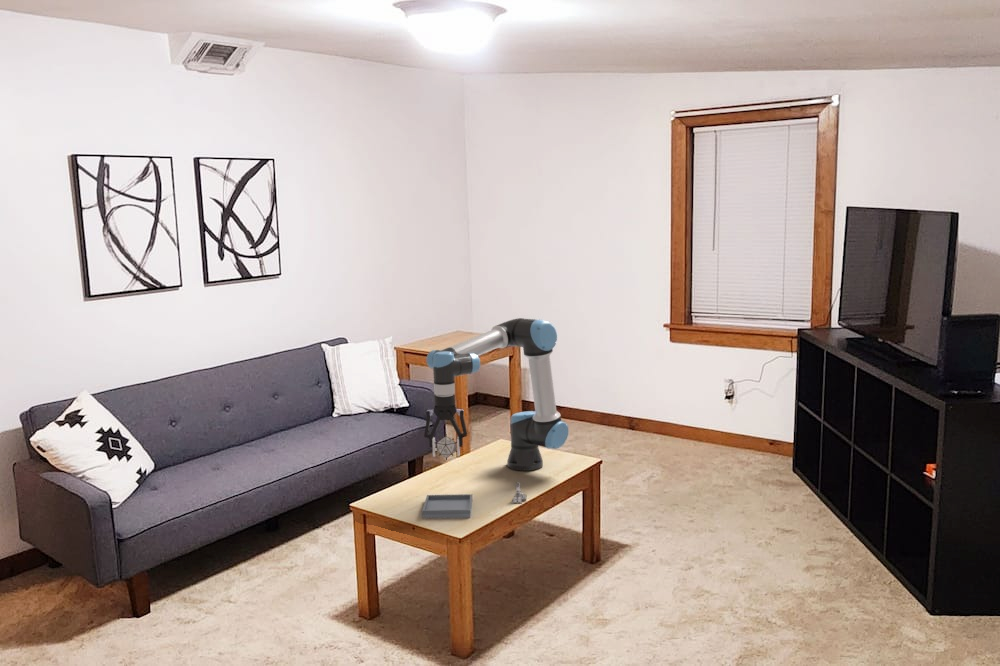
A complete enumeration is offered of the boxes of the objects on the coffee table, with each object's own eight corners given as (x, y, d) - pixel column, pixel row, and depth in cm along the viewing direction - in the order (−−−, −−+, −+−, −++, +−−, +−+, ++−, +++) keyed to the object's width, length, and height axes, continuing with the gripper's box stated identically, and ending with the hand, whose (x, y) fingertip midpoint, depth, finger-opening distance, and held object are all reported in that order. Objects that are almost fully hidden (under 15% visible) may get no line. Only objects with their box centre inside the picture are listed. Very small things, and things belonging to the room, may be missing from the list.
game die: (455, 455, 308) (454, 429, 306) (461, 462, 300) (461, 435, 298) (431, 458, 305) (431, 432, 303) (437, 464, 297) (437, 437, 296)
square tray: (472, 501, 313) (472, 494, 313) (470, 518, 296) (470, 510, 296) (427, 502, 314) (427, 495, 313) (422, 518, 296) (421, 510, 296)
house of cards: (534, 507, 307) (534, 487, 306) (511, 506, 308) (510, 486, 307) (536, 499, 316) (536, 479, 315) (513, 498, 317) (513, 479, 316)
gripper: (474, 391, 303) (475, 452, 306) (416, 392, 303) (418, 453, 306) (473, 396, 295) (474, 458, 298) (414, 397, 296) (416, 459, 299)
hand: (446, 455), depth 302 cm, fingers closed on game die, 8 cm apart
